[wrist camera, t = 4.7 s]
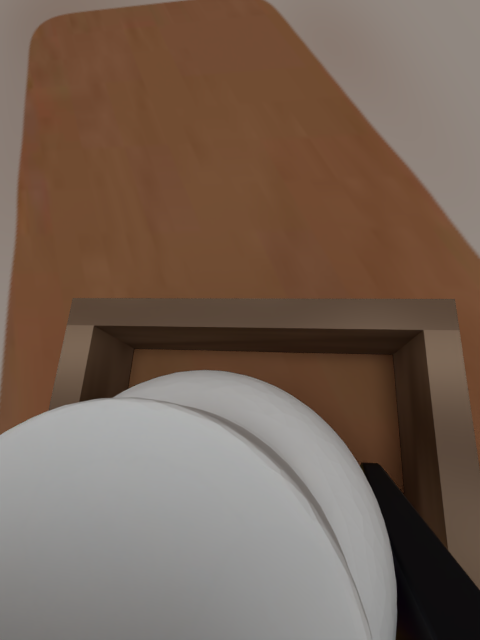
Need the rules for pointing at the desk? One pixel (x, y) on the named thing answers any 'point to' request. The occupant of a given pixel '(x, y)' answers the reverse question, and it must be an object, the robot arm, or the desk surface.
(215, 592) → the supplement bottle
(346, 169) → the desk surface
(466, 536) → the frame
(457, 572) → the robot arm
